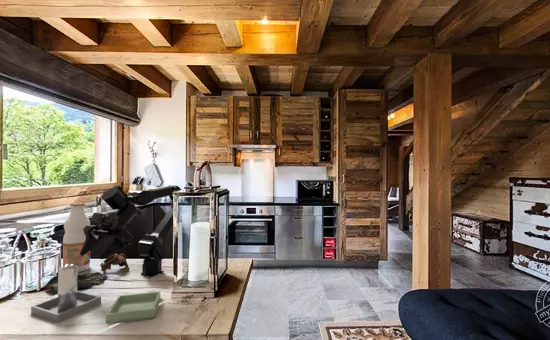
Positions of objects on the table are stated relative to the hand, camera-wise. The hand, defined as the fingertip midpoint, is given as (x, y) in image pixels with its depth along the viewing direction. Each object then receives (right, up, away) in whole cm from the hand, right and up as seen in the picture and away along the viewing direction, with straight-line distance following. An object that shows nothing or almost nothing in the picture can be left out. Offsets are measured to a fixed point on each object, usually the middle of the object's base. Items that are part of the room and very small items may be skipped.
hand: (90, 256), depth 89 cm
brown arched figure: (-7, -14, +27) cm, 31 cm away
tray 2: (+18, -14, -6) cm, 24 cm away
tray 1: (-3, -14, -6) cm, 16 cm away
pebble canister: (-3, -13, -6) cm, 15 cm away
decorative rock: (-12, -15, +12) cm, 22 cm away
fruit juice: (-24, -14, +28) cm, 39 cm away
